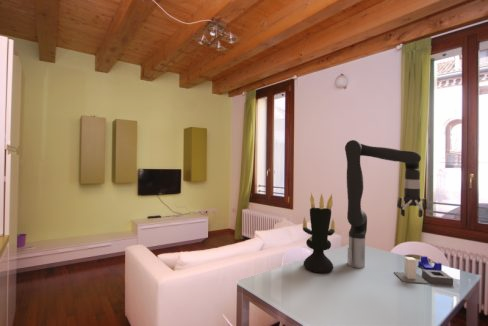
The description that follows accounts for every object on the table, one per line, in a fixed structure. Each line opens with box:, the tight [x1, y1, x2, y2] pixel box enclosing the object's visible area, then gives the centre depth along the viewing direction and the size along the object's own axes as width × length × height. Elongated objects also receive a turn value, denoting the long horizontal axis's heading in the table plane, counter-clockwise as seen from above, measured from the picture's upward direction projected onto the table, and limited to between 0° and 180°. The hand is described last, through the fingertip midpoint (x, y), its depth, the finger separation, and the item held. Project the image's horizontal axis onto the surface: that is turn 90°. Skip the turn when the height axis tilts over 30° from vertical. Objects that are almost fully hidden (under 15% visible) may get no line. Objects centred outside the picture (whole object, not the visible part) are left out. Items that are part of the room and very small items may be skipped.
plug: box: [404, 256, 417, 279], centre depth 144 cm, size 4×4×10 cm
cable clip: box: [418, 255, 443, 271], centre depth 157 cm, size 12×4×6 cm, turn 5°
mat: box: [393, 271, 429, 285], centre depth 144 cm, size 12×12×1 cm
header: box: [421, 268, 454, 286], centre depth 142 cm, size 10×10×4 cm
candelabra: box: [302, 192, 336, 274], centre depth 154 cm, size 19×22×45 cm
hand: (411, 216), depth 150 cm, fingers open, 8 cm apart
